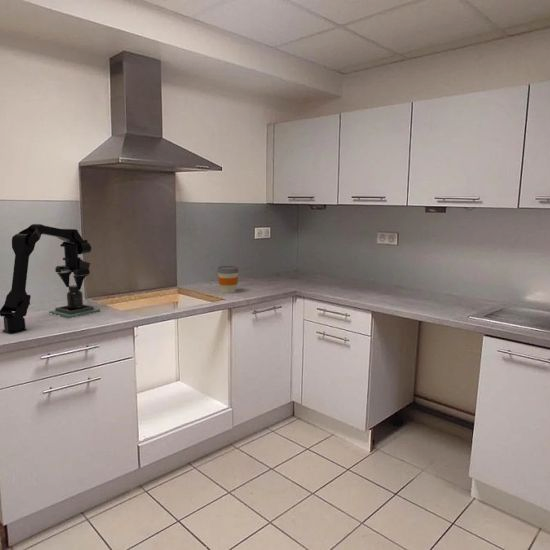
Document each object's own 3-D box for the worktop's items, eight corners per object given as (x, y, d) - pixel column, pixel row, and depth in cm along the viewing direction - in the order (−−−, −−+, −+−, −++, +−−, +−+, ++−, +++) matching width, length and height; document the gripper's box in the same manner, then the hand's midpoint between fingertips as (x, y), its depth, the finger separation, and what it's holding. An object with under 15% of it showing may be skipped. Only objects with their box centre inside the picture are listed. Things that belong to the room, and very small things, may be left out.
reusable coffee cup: (237, 294, 254) (237, 269, 251) (216, 293, 254) (216, 268, 251) (239, 290, 266) (239, 266, 264) (219, 289, 266) (218, 265, 264)
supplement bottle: (64, 311, 205) (63, 286, 203) (77, 308, 210) (76, 284, 208) (73, 313, 201) (71, 287, 199) (86, 310, 207) (85, 285, 205)
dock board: (69, 318, 195) (68, 313, 195) (49, 313, 204) (48, 308, 203) (99, 311, 209) (99, 306, 208) (79, 306, 217) (79, 302, 217)
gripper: (98, 255, 204) (100, 287, 206) (75, 252, 214) (77, 283, 216) (77, 257, 194) (79, 291, 197) (53, 254, 204) (56, 286, 207)
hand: (73, 288), depth 204 cm, fingers open, 9 cm apart
